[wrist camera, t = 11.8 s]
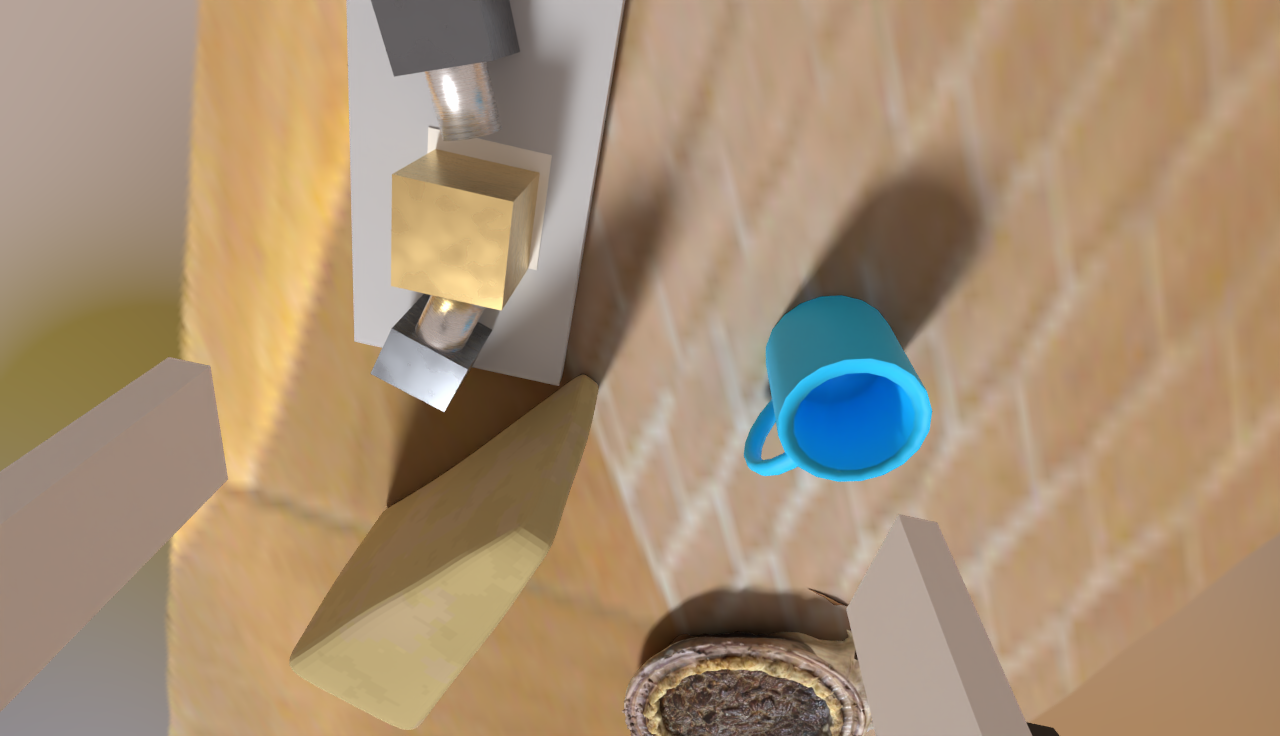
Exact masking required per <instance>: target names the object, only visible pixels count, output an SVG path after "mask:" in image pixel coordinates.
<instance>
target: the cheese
mask: <svg viewBox="0 0 1280 736" xmlns="http://www.w3.org/2000/svg"><path fill="white" fill-rule="evenodd" d="M598 388H599V387H598V384H597V383H596V382H594V381H593V380H592V379H591V378H589V377H588V376H586V375H579V376H577V377H576V378H574V379H573V380H571V381H570V382H568V383H567V384H565V385H564V386H563V387H561V388H560V389H559V390H557V391H556V392H555V393H553V394H552V395H551V396H549V397H548V398H547V399H545V400H544V401H543V402H541V403H540V404H539V405H537V406H536V407H534V408H533V409H532V410H530V411H529V412H528V413H526V414H525V415H524V416H522V417H521V418H520V419H518V420H517V421H516V422H514V423H513V424H512V425H510V426H509V427H508V428H506V429H505V430H504V431H502V432H501V433H500V434H498V435H497V436H496V437H494V438H493V439H492V440H490V441H489V442H488V443H486V444H485V445H484V446H482V447H481V448H479V449H478V450H477V451H475V452H474V453H473V454H471V455H470V456H468V457H467V458H466V459H464V460H463V461H461V462H460V463H459V464H457V465H456V466H454V467H453V468H451V469H450V470H448V471H447V472H445V473H444V474H442V475H441V476H439V477H438V478H436V479H435V480H433V481H432V482H430V483H429V484H427V485H425V486H424V487H422V488H421V489H419V490H417V491H416V492H414V493H412V494H411V495H409V496H408V497H406V498H404V499H402V500H401V501H399V502H397V503H396V504H394V505H392V506H391V507H389V508H387V509H386V510H385V511H384V512H383V513H382V514H381V515H380V517H379V518H378V520H377V521H376V523H375V524H374V526H373V527H372V529H371V530H370V531H369V533H368V534H367V536H366V537H365V538H364V540H363V541H362V543H361V544H360V546H359V547H358V548H357V550H356V551H355V553H354V554H353V556H352V557H351V558H350V560H349V561H348V563H347V564H346V566H345V567H344V569H343V570H342V572H341V573H340V575H339V576H338V578H337V579H336V581H335V582H334V584H333V585H332V587H331V589H330V590H329V592H328V593H327V595H326V597H325V598H324V600H323V602H322V603H321V605H320V606H319V608H318V610H317V611H316V613H315V615H314V616H313V618H312V620H311V621H310V623H309V625H308V627H307V628H306V630H305V632H304V633H303V635H302V637H301V638H300V640H299V642H298V643H297V645H296V646H295V648H294V650H293V652H292V654H291V656H290V667H291V668H292V670H293V671H294V672H295V673H296V674H297V675H299V676H300V677H301V678H303V679H304V680H306V681H308V682H310V683H311V684H313V685H315V686H317V687H319V688H321V689H322V690H324V691H326V692H328V693H330V694H332V695H334V696H336V697H338V698H340V699H342V700H343V701H345V702H347V703H349V704H351V705H353V706H355V707H357V708H359V709H361V710H363V711H365V712H366V713H368V714H370V715H372V716H374V717H376V718H378V719H380V720H382V721H384V722H386V723H388V724H390V725H392V726H395V727H398V728H401V729H405V730H411V729H415V728H417V727H418V726H419V725H420V724H421V723H422V722H423V721H424V720H425V718H426V717H427V716H428V714H429V713H430V712H431V710H432V709H433V708H434V706H435V705H436V703H437V702H438V701H439V699H440V698H441V697H442V695H443V694H444V693H445V692H446V690H447V689H448V688H449V686H450V685H451V684H452V682H453V681H454V680H455V678H456V677H457V676H458V675H459V673H460V672H461V671H462V670H463V668H464V667H465V666H466V664H467V663H468V662H469V661H470V659H471V658H472V657H473V656H474V654H475V653H476V652H477V651H478V649H479V648H480V647H481V646H482V644H483V643H484V642H485V641H486V639H487V638H488V637H489V636H490V634H491V633H492V632H493V630H494V629H495V628H496V627H497V625H498V624H499V623H500V621H501V620H502V618H503V617H504V616H505V614H506V613H507V612H508V610H509V609H510V607H511V606H512V604H513V603H514V601H515V600H516V598H517V597H518V596H519V594H520V593H521V591H522V590H523V588H524V587H525V585H526V584H527V582H528V581H529V579H530V578H531V577H532V575H533V574H534V572H535V571H536V569H537V568H538V567H539V565H540V564H541V562H542V561H543V559H544V558H545V556H546V555H547V553H548V551H549V549H550V547H551V545H552V543H553V541H554V538H555V535H556V532H557V529H558V526H559V523H560V520H561V517H562V513H563V510H564V507H565V504H566V501H567V498H568V495H569V492H570V489H571V486H572V483H573V480H574V478H575V475H576V472H577V469H578V466H579V463H580V461H581V458H582V455H583V452H584V449H585V446H586V442H587V439H588V435H589V432H590V428H591V423H592V419H593V415H594V410H595V405H596V400H597V394H598Z"/></svg>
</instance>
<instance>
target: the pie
mask: <svg viewBox="0 0 1280 736" xmlns="http://www.w3.org/2000/svg"><path fill="white" fill-rule="evenodd" d="M809 590H810V589H809ZM811 591H812V590H811ZM813 592H815V591H813ZM815 593H817V592H815ZM817 594H819V595H821V596H823V597H824V598H826V599H827V600H829V601H830V602H831V603H832V604H834V605H842V604H840V603H838V602H836V601H834V600H833V599H830V598H828V597H826V596H825V595H822V594H820V593H817ZM845 606H846V605H845ZM846 631H847V633H848V635H849V637H848V638H846V639H845V641H839V640H838V641H829V640H819V639H816V638H814V637H811V636H809V635H806V634H803V633H798V632H777V633H772V634H768V635H766V634H762V633H761V634H758V635H755V634H752V633H750V632H738V631H737V632H734V633H729V634H716V635H709V634H703V635H699V636H695V637H694V636H691V635H689V634H682V635H680V636H678V637H676V638H675V639H674V641H673V642H671V643H670V646H669V647H667V648H666V649H663V650H662V651H661V652H659V653H657V654H656V655H654V656H653V657H651V658H650V659H649V660H647V661H646V662H645V663H644V664H643V665H642V666H641V668H640V669H639V670H638V671H637V672H636V673H635V674H634V676H633V677H632V679H631V681H630V683H629V685H628V688H627V691H626V697H625V701H624V703H625V704H624V705H625V709H624V710H623V711H622V712H623V713H625V715H626V719H625V721H626V724H627V725H628V726H627V728H628V729H630V731H631V736H864V735H865V734H866V732H867V731H869V730H870V729H874V725H873V721H871V719H872V717H871V713H870V708H869V704H868V700H867V695H866V691H865V687H864V683H863V678H862V674H861V670H860V666H859V661H858V660H856V659H854V656H855V650H856V649H855V644H854V640H853V636H852V632H851V631H849V630H846ZM724 651H725V652H724Z"/></svg>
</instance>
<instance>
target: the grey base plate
mask: <svg viewBox="0 0 1280 736" xmlns="http://www.w3.org/2000/svg"><path fill="white" fill-rule="evenodd" d="M509 1H510V6H511V11H512V15H513V20H514V25H515V29H516V34H517V39H518V44H519V48H520V52H519V53H516V54H512V55H509V56H506V57H503V58H500V59H496V60H493V61H488V62H486V63H487V67H488V71H489V75H490V79H491V84H492V88H493V92H494V96H495V100H496V105H497V109H498V113H499V117H500V121H501V126H502V130H501V131H499V132H496V133H493V134H490V135H486V136H482V137H477V138H472V139H467V140H460V141H443V138H442V135H441V131H440V128H439V124H438V120H437V117H436V113H435V110H434V106H433V103H432V99H431V96H430V92H429V89H428V85H427V82H426V78H425V74H424V72H420V73H414V74H407V75H401V76H395V77H394V75H393V72H392V68H391V65H390V62H389V58H388V55H387V52H386V49H385V45H384V42H383V39H382V35H381V32H380V29H379V26H378V22H377V19H376V16H375V12H374V9H373V6H372V3H371V0H347V39H348V82H349V125H350V168H351V211H352V254H353V297H354V340H355V342H359V343H364V344H368V345H373V346H377V347H382V348H383V346H384V344H385V341H386V339H387V337H388V335H389V333H390V331H391V329H392V327H393V326H394V325H395V324H396V323H397V322H398V321H399V320H400V319H401V318H402V317H403V316H404V314H405V313H406V312H407V311H408V310H409V309H410V308H411V307H412V306H413V305H414V304H415V303H416V302H417V301H418V299H419V298H420V297H421V296H422V295H423V294H424V293H420V292H415V291H411V290H406V289H402V288H397V287H393V286H391V219H392V174H393V173H395V172H397V171H398V170H400V169H402V168H404V167H405V166H407V165H409V164H410V163H412V162H414V161H416V160H417V159H419V158H421V157H423V156H424V155H426V154H428V153H429V152H431V151H433V150H435V149H438V150H443V151H447V152H451V153H456V154H460V155H465V156H469V157H473V158H478V159H482V160H486V161H491V162H495V163H500V164H504V165H508V166H513V167H517V168H521V169H526V170H530V171H535V172H539V173H540V175H539V183H538V192H537V200H536V208H535V216H534V224H533V232H532V240H531V248H530V256H529V264H528V270H527V272H526V273H525V275H524V276H523V278H522V280H521V281H520V283H519V284H518V286H517V287H516V289H515V291H514V292H513V294H512V295H511V297H510V298H509V300H508V302H507V303H506V305H505V306H504V308H503V309H502V311H501V310H497V309H492V308H488V307H485V309H484V311H483V313H482V315H481V316H480V318H479V320H478V322H479V323H481V324H483V325H485V326H487V327H488V328H490V329H492V332H491V334H490V336H489V337H488V339H487V341H486V343H485V345H484V346H483V348H482V350H481V352H480V354H479V355H478V357H477V359H476V361H475V362H474V364H473V366H472V367H474V368H478V369H483V370H488V371H492V372H497V373H501V374H506V375H511V376H515V377H520V378H524V379H529V380H534V381H538V382H543V383H547V384H552V385H557V386H559V384H560V382H561V379H562V375H563V369H564V363H565V357H566V351H567V345H568V339H569V334H570V328H571V322H572V316H573V310H574V304H575V298H576V292H577V286H578V280H579V274H580V268H581V262H582V256H583V250H584V244H585V238H586V232H587V226H588V220H589V214H590V208H591V202H592V196H593V191H594V185H595V179H596V173H597V167H598V161H599V155H600V149H601V143H602V137H603V131H604V125H605V119H606V113H607V107H608V101H609V95H610V89H611V83H612V77H613V71H614V65H615V59H616V53H617V47H618V42H619V36H620V30H621V24H622V18H623V12H624V6H625V0H509Z"/></svg>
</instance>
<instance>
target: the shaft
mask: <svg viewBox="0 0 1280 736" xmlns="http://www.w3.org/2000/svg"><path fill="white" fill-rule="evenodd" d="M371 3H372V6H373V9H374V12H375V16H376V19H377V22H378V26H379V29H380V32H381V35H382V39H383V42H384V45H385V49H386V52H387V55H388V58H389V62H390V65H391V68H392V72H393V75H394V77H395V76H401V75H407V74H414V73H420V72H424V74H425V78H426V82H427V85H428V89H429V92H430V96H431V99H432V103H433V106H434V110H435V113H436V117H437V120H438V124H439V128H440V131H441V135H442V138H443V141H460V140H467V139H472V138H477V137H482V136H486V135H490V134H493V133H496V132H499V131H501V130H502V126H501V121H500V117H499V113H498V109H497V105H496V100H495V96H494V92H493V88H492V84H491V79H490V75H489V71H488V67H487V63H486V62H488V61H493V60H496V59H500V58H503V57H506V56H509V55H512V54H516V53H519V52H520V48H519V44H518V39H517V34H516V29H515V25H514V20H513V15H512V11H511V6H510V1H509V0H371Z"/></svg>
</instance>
